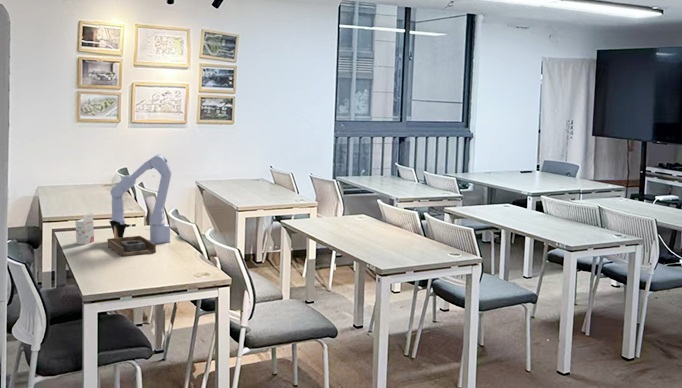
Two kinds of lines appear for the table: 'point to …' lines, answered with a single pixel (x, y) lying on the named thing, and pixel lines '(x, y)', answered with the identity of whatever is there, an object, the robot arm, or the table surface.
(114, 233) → the plug
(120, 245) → the brown wooden box
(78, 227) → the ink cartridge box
